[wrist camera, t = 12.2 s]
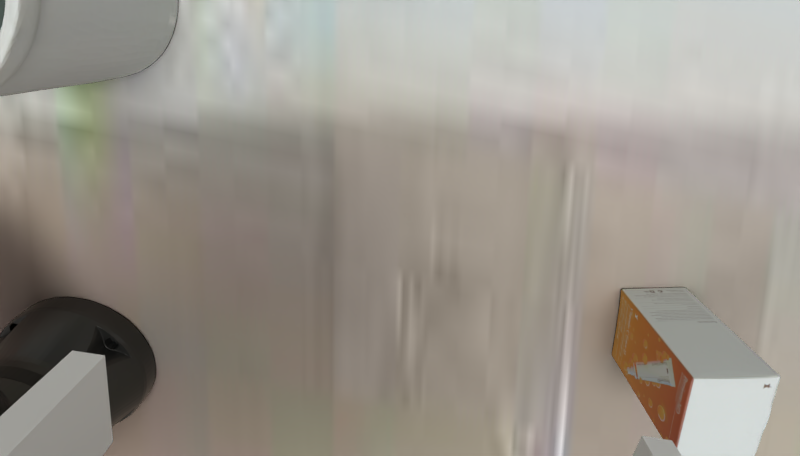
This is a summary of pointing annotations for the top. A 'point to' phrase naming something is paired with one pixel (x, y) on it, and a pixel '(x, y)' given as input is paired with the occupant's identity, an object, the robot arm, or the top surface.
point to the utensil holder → (79, 40)
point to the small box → (693, 373)
